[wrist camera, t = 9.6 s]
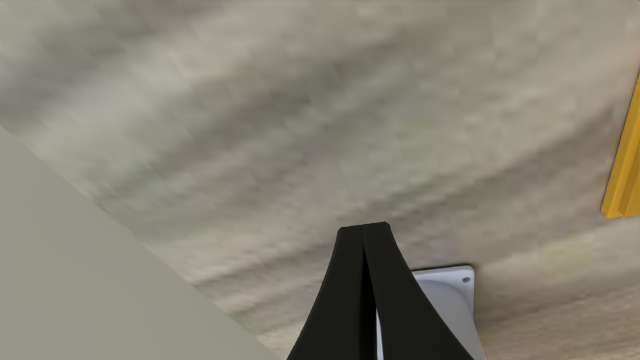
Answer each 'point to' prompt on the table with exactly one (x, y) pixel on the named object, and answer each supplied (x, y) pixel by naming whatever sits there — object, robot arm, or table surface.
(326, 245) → the table surface
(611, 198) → the tray
